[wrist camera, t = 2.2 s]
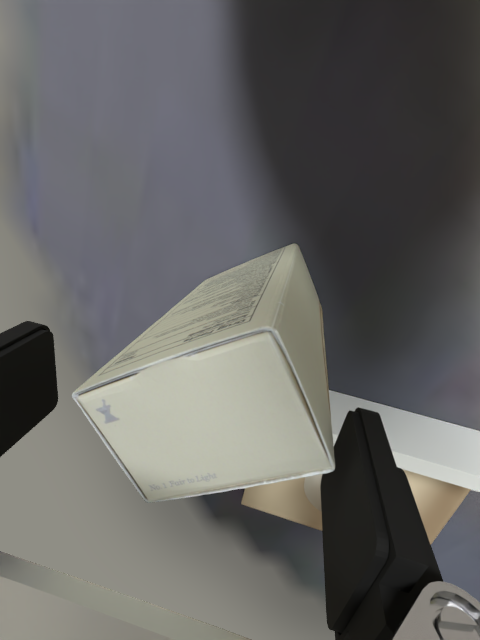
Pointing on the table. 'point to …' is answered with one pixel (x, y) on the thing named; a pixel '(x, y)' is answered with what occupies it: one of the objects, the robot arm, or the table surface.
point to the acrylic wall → (420, 441)
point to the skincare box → (221, 387)
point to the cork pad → (305, 500)
